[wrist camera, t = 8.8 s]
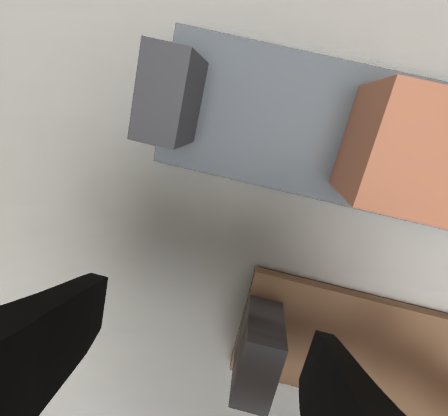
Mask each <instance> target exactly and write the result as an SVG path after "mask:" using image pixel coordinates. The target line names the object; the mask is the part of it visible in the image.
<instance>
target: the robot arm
mask: <svg viewBox="0 0 448 416" xmlns="http://www.w3.org/2000/svg"><path fill="white" fill-rule="evenodd" d="M107 281H108V277H105V276H101V275H97V274H93V273H89V274H86V275H83V276H80V277H78V278H75V279H73V280H70V281H68V282H65V283H62V284H60V285H57V286H55V287H52V288H50V289H47V290H44V291H42V292H39V293H36V294H33V295H30V296H28V297H25V298H22V299H19V300H16V301H13V302H10V303H7V304H4V305H0V416H39V415H40V413H41V412H42V411H43V409H44V408H45V407H46V405H47V404H48V403H49V402H50V400H51V399H52V398H53V396H54V395H55V394H56V393H57V391H58V390H59V389H60V387H61V386H62V385H63V383H64V382H65V381H66V380H67V378H68V377H69V376H70V374H71V373H72V372H73V370H74V369H75V368H76V367H77V365H78V364H79V363H80V361H81V360H82V359H83V357H84V356H85V355H86V353H87V351H88V350H89V348H90V346H91V345H92V343H93V341H94V340H95V338H96V336H97V334H98V333H99V331H100V329H101V325H102V318H103V311H104V303H105V296H106V289H107ZM299 405H300V415H301V416H406V415H405V414H404V413H403V412H402V411H401V410H400V409H399V408H398V407H397V405H396V404H395V403H394V402H393V401H392V400H391V399H390V398H389V397H388V396H387V395H386V394H385V393H384V392H383V391H382V390H381V388H380V387H379V386H378V385H377V384H376V383H375V382H374V381H373V380H372V378H371V377H370V376H369V375H368V374H367V373H366V371H365V370H364V369H363V368H362V367H361V366H360V364H359V363H358V362H357V361H356V360H355V358H354V357H353V356H352V355H351V354H350V352H349V351H348V350H347V349H346V348H345V346H344V345H343V344H342V343H341V342H340V340H339V339H338V338H337V337H336V336H335V335H334V334H330V333H326V332H322V331H318V330H316V331H315V333H314V336H313V339H312V342H311V345H310V348H309V351H308V354H307V357H306V360H305V363H304V366H303V369H302V372H301V374H300V377H299Z"/></svg>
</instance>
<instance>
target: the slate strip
mask: <svg viewBox="0 0 448 416" xmlns="http://www.w3.org/2000/svg"><path fill="white" fill-rule="evenodd" d="M396 74H400V75H404V76H409V77H414V78H418V79H423V80H427V81H432V82H436V83H441V84H446V85H448V82H445V81H440V80H436V79H431V78H426V77H422V76H417V75H413V74H408V73H404V72H399V71H394V70H390V69H385V68H381V67H376V66H372V65H367V64H362V63H358V62H353V61H349V60H344V59H340V58H335V57H330V56H326V55H321V54H317V53H312V52H308V51H303V50H298V49H294V48H289V47H285V46H280V45H276V44H271V43H266V42H262V41H257V40H253V39H248V38H244V37H239V36H234V35H230V34H225V33H221V32H216V31H211V30H207V29H202V28H198V27H193V26H189V25H184V24H179V23H176V24H175V30H174V36H173V42H168V41H164V40H159V39H155V38H150V37H146V36H141V43H140V50H139V58H138V65H137V72H136V79H135V87H134V94H133V101H132V109H131V116H130V123H129V130H128V138H127V139H129V140H134V141H138V142H142V143H146V144H151V145H155V146H156V148H155V154H154V160H153V161H157V162H161V163H165V164H169V165H174V166H178V167H182V168H186V169H190V170H195V171H199V172H203V173H207V174H212V175H216V176H220V177H224V178H228V179H233V180H237V181H241V182H245V183H250V184H254V185H258V186H262V187H266V188H271V189H275V190H279V191H283V192H287V193H292V194H296V195H300V196H304V197H309V198H313V199H317V200H321V201H325V202H330V203H334V204H338V205H342V206H347V207H351V208H353V207H352V206H351V205H350V204H349V203H348V202H347V201H346V200H345V199H344V198H343V197H342V196H341V195H340V194H339V193H338V192H337V191H336V190H335V189H334V188H333V187H332V186H331V185H330V184H329V181H330V178H331V174H332V171H333V168H334V165H335V162H336V158H337V155H338V152H339V149H340V145H341V142H342V139H343V136H344V133H345V129H346V126H347V123H348V120H349V117H350V113H351V110H352V107H353V104H354V100H355V97H356V94H357V91H358V88H359V86H360V85H363V84H366V83H370V82H373V81H376V80H380V79H383V78H386V77H389V76H393V75H396ZM355 209H357V208H355ZM359 210H362V209H359ZM363 211H366V210H363ZM368 212H370V211H368ZM372 213H374V212H372ZM376 214H378V213H376ZM380 215H383V214H380ZM385 216H387V215H385ZM389 217H391V216H389ZM393 218H395V217H393ZM397 219H400V218H397ZM401 220H404V219H401ZM406 221H408V220H406ZM410 222H412V221H410ZM414 223H416V222H414ZM418 224H421V223H418ZM423 225H425V224H423ZM427 226H429V225H427ZM431 227H433V226H431ZM435 228H438V227H435ZM439 229H442V228H439ZM444 230H446V229H444Z"/></svg>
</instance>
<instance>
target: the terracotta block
mask: <svg viewBox="0 0 448 416" xmlns="http://www.w3.org/2000/svg"><path fill="white" fill-rule="evenodd" d="M329 184H330V185H331V186H332V187H333V188H334V189H335V190H336V191H337V192H338V193H339V194H340V195H341V196H342V197H343V198H344V199H345V200H346V201H347V202H348V203H349V204H350V205H351V206H352V207H353V208H357V209H362V210H366V211H370V212H374V213H378V214H383V215H387V216H391V217H395V218H400V219H404V220H408V221H412V222H416V223H421V224H425V225H429V226H433V227H438V228H442V229H446V230H448V85H446V84H441V83H436V82H432V81H427V80H423V79H418V78H414V77H409V76H404V75H400V74H396V75H393V76H389V77H386V78H383V79H380V80H376V81H373V82H370V83H366V84H363V85H360V86H359V88H358V91H357V94H356V97H355V100H354V104H353V107H352V110H351V113H350V117H349V120H348V123H347V126H346V129H345V133H344V136H343V139H342V142H341V145H340V149H339V152H338V155H337V158H336V162H335V165H334V168H333V171H332V174H331V178H330V181H329Z"/></svg>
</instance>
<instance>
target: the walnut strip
mask: <svg viewBox="0 0 448 416" xmlns="http://www.w3.org/2000/svg"><path fill="white" fill-rule="evenodd" d="M316 330H318V331H322V332H326V333H330V334H334V335H335V336H336V337H337V338H338V339H339V340H340V342H341V343H342V344H343V345H344V346H345V348H346V349H347V350H348V351H349V352H350V354H351V355H352V356H353V357H354V358H355V360H356V361H357V362H358V363H359V364H360V366H361V367H362V368H363V369H364V370H365V371H366V373H367V374H368V375H369V376H370V377H371V378H372V380H373V381H374V382H375V383H376V384H377V385H378V386H379V387H380V388H381V390H382V391H383V392H384V393H385V394H386V395H387V396H388V397H389V398H390V399H391V400H392V401H393V402H394V403H395V404H396V405H397V407H398V408H399V409H400V410H401V411H402V412H403V413H404V414H405V415H406V416H448V314H447V313H443V312H439V311H435V310H431V309H427V308H423V307H419V306H415V305H411V304H407V303H403V302H399V301H395V300H391V299H386V298H382V297H378V296H374V295H370V294H366V293H362V292H358V291H354V290H350V289H346V288H342V287H338V286H334V285H330V284H326V283H322V282H318V281H314V280H310V279H306V278H302V277H297V276H293V275H289V274H285V273H281V272H277V271H273V270H269V269H265V268H261V267H257V266H256V269H255V272H254V276H253V280H252V284H251V287H250V291H249V295H248V299H247V302H246V306H245V310H244V313H243V317H242V321H241V325H240V328H239V332H238V336H237V339H236V343H235V347H234V351H233V354H232V358H231V363H230V370H233V371H232V380H231V389H230V398H229V407H230V408H233V409H237V410H241V411H245V412H248V413H252V414H256V415H260V416H268V414H269V411H270V408H271V404H272V401H273V398H274V395H275V392H276V389H277V386H278V383H279V382H280V383H284V384H287V385H291V386H295V387H299V377H300V374H301V372H302V369H303V366H304V363H305V360H306V357H307V354H308V351H309V348H310V345H311V342H312V339H313V336H314V333H315V331H316Z"/></svg>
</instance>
